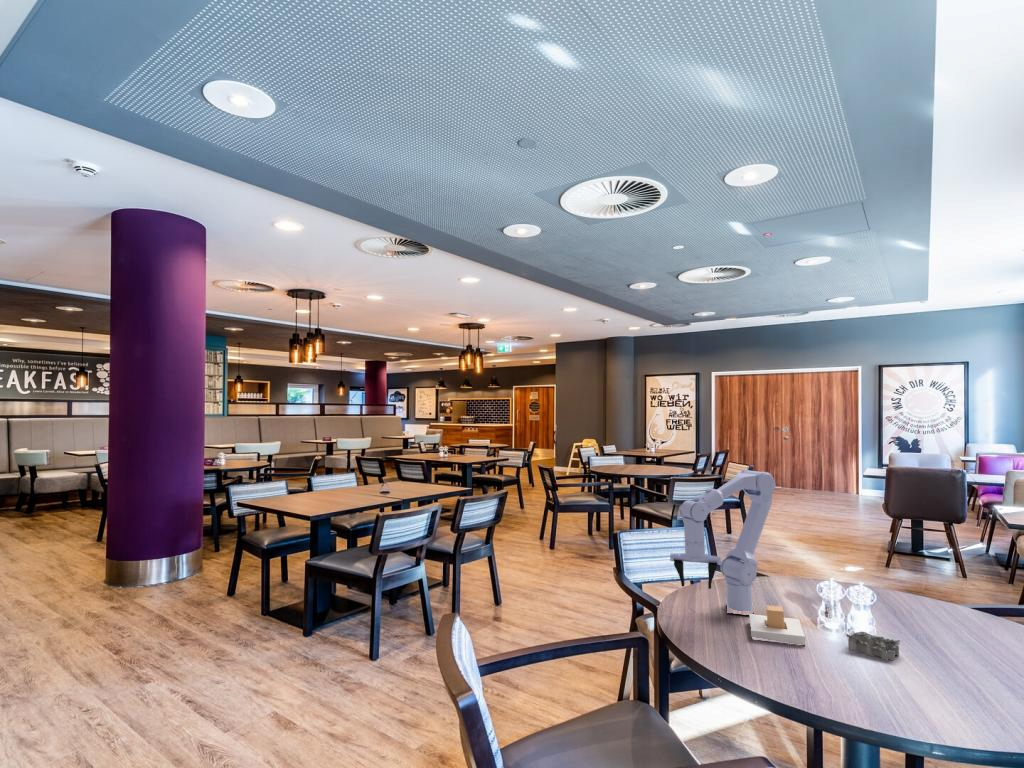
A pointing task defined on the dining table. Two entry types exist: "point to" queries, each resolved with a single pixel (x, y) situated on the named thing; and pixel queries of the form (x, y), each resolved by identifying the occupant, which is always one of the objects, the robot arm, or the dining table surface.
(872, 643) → the egg carton
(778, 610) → the peg
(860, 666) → the dining table surface
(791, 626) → the socket plate
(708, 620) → the dining table surface
